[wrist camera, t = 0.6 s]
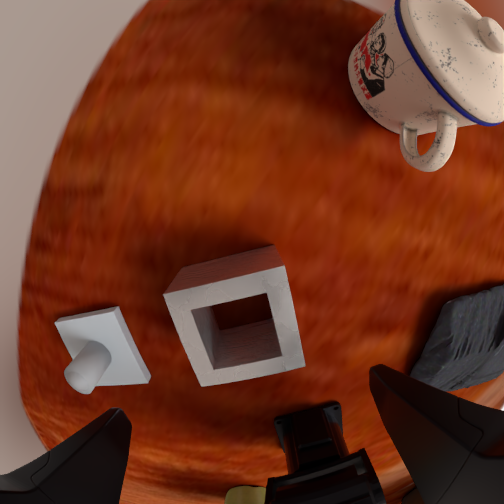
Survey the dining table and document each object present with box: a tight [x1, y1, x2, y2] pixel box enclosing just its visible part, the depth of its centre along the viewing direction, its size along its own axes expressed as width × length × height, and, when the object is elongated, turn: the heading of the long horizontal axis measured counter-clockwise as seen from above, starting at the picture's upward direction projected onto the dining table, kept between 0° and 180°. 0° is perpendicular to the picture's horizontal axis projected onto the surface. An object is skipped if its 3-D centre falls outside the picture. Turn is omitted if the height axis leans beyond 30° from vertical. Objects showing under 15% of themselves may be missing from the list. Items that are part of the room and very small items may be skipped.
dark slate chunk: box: [410, 284, 504, 392], centre depth 20 cm, size 15×22×5 cm
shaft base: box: [55, 306, 151, 394], centre depth 18 cm, size 7×7×6 cm
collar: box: [163, 245, 305, 387], centre depth 17 cm, size 7×7×5 cm
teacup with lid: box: [348, 0, 504, 172], centre depth 11 cm, size 12×9×12 cm
